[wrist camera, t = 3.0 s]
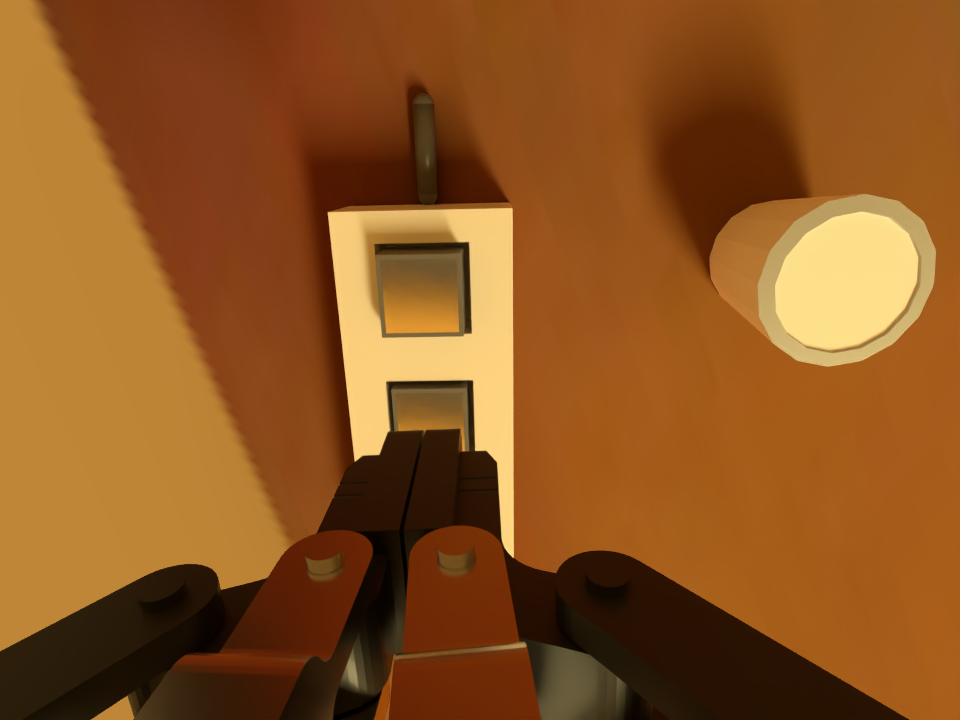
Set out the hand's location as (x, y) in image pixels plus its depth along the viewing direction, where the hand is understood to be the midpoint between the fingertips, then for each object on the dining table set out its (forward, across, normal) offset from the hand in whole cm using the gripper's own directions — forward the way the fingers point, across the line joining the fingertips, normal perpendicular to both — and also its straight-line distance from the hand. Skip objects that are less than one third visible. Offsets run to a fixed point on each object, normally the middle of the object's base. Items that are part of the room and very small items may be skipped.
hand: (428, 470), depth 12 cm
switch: (+16, +1, -1) cm, 16 cm away
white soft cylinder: (+18, -16, -1) cm, 24 cm away
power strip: (+19, +1, +3) cm, 19 cm away
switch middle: (+17, +1, +5) cm, 18 cm away
